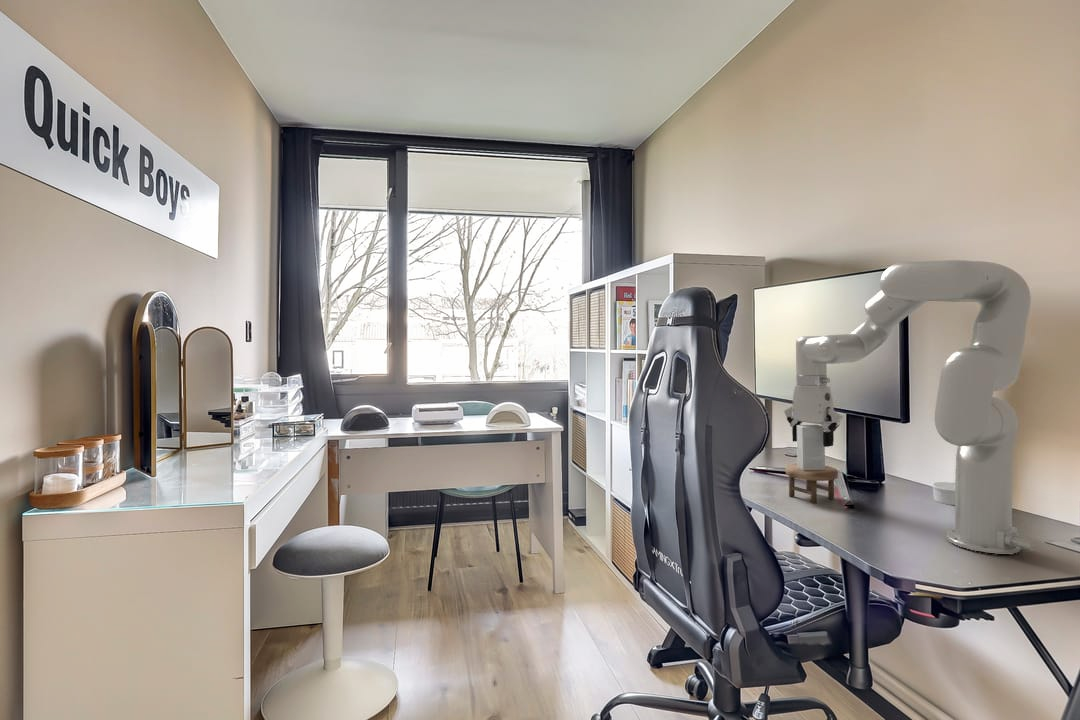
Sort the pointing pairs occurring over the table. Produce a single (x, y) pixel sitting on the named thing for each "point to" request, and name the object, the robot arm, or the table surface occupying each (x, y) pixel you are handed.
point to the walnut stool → (811, 481)
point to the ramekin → (944, 492)
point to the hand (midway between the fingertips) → (812, 443)
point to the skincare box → (810, 447)
